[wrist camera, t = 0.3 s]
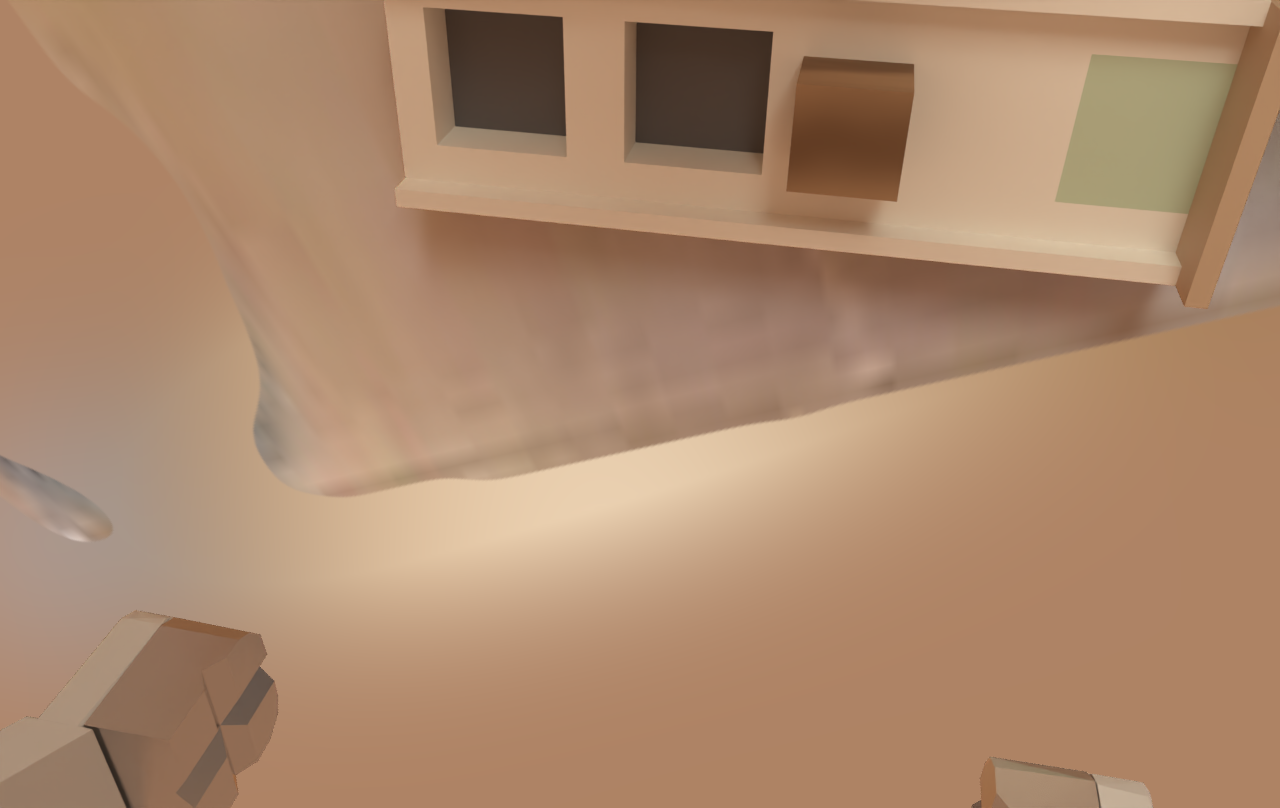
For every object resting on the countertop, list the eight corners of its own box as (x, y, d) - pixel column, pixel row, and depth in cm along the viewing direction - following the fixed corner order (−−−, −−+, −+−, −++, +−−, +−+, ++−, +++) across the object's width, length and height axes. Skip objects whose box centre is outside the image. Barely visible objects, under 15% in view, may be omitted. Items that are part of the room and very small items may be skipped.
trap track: (400, -74, 53) (344, -45, 48) (1268, -24, 47) (1313, 16, 42) (427, 173, 61) (381, 222, 55) (1178, 245, 54) (1207, 309, 49)
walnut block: (803, 56, 50) (796, 83, 47) (914, 64, 49) (914, 93, 46) (793, 158, 53) (786, 191, 49) (897, 167, 52) (896, 201, 49)
